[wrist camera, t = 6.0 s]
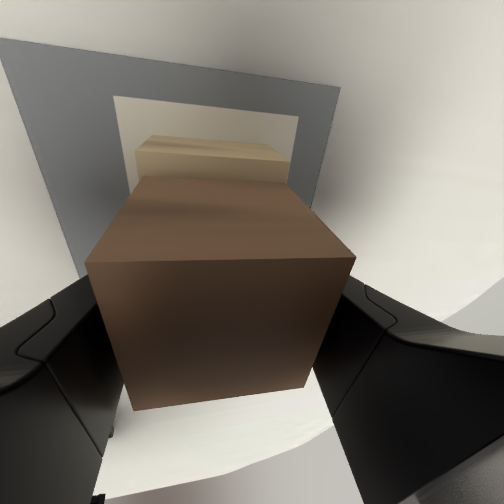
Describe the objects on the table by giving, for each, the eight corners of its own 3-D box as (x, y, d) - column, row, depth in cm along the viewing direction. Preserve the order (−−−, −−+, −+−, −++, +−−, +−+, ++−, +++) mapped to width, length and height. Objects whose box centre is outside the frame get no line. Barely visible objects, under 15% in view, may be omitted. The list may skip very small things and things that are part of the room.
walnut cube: (267, 284, 12) (303, 387, 8) (158, 289, 11) (133, 411, 7) (285, 182, 9) (356, 257, 5) (143, 175, 8) (84, 262, 4)
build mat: (273, 346, 24) (275, 350, 24) (112, 362, 21) (111, 367, 21) (336, 87, 13) (341, 87, 12) (-1, 38, 10) (-10, 36, 9)
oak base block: (255, 238, 16) (269, 275, 13) (163, 238, 15) (153, 278, 12) (267, 144, 13) (290, 161, 10) (152, 135, 12) (134, 150, 9)
